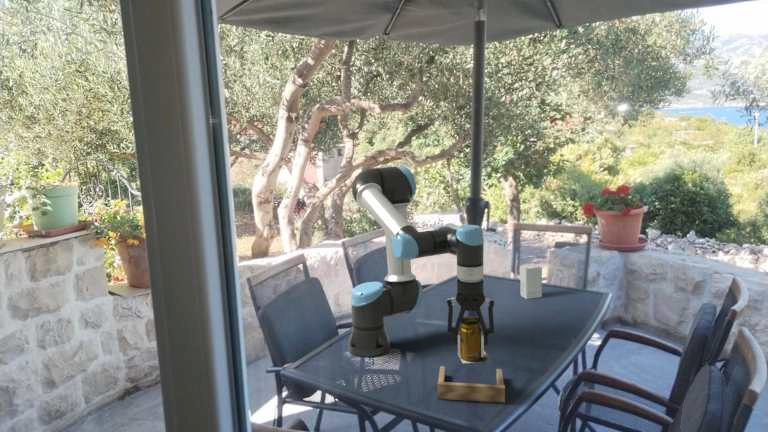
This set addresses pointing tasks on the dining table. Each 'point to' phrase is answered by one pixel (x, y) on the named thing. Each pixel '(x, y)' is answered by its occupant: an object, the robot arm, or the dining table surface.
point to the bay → (471, 389)
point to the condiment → (471, 341)
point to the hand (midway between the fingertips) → (470, 354)
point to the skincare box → (531, 281)
